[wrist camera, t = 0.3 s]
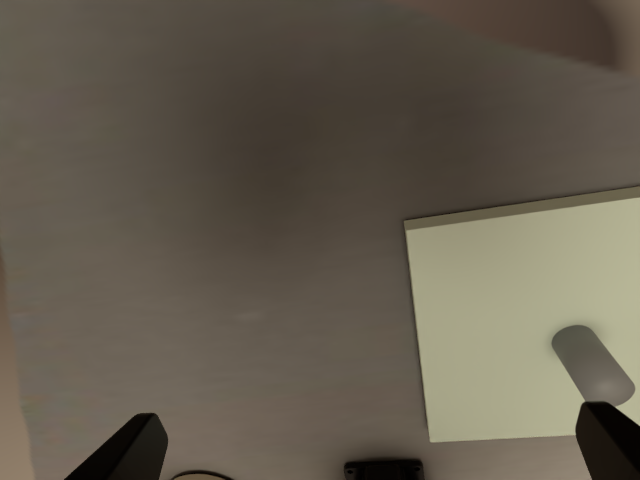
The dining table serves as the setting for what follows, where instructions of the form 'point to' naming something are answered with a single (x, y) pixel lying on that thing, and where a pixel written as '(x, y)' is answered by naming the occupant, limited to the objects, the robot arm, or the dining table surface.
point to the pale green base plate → (527, 314)
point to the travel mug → (199, 477)
